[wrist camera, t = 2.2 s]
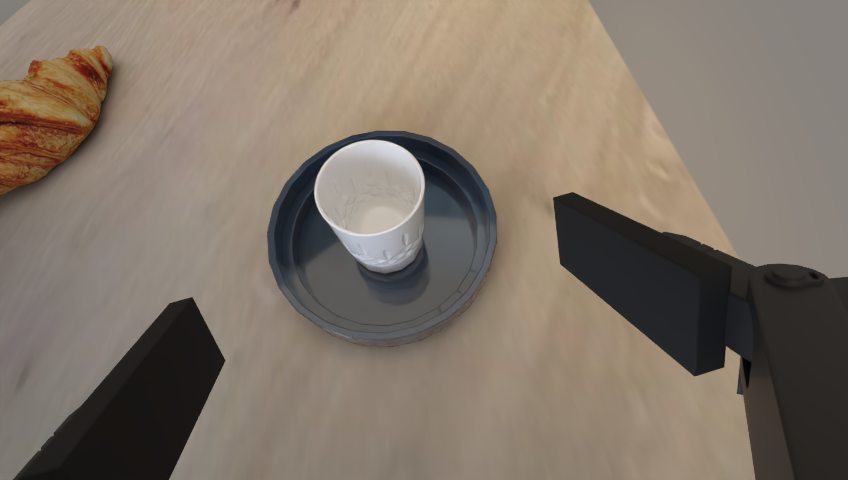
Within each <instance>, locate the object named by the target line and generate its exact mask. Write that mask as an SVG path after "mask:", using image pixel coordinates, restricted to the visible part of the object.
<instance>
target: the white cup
mask: <svg viewBox="0 0 848 480" xmlns="http://www.w3.org/2000/svg"><path fill="white" fill-rule="evenodd" d="M314 195H315V201H316V205H317V208H318V210H319V212H320V213H321V215H322V216H323V218H324V219H325V220H326V222H327V223H328V224H329V226H330V227H331V229H332V230H333V231H334V233H335V234H336V236H337V237H338V238H339V240H340V241H341V242H342V243H343V245H344V246H345V247H346V248H347V250H348V251H349V252H350V253H351V254H352V255H353V256H354V257H355V259H356V260H357V261H358V262H359V263H360V264H362V265H363V266H364V267H366V268H367V269H368V270H370V271H375V272H380V273H390V272H394V271H399V270H402V269H403V268H405V267H406V266H407V265H408V264H410V263H411V262H412V261H414V260H415V258H416V256H417V254H418V252H419V250H420V248H421V246H422V233H423V228H424V213H425V210H424V199H425V180H424V174H423V171H422V168H421V166H420V164H419V163H418V161H417V160H416V158H415V157H414V156H413V155H412V154H411V153H410V152H409V151H407V150H406V149H404V148H403V147H401V146H399V145H397V144H394V143H391V142H388V141H382V140H365V141H359V142H356V143H352V144H350V145H347V146H345V147H343V148H341V149H340V150H338V151H337V152H335V153H334V154H333V155H332V156H331V157H330V158H329V159H328V160H327V161H326V162H325V163H324V165H323V166H322V168H321V169H320V171H319V173H318V175H317V178H316V182H315V188H314Z"/></svg>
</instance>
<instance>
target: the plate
mask: <svg viewBox="0 0 848 480" xmlns="http://www.w3.org/2000/svg"><path fill="white" fill-rule="evenodd" d="M365 140H382V141H388V142H391V143H394V144H397V145H399V146H401V147H403V148H404V149H406V150H407V151H409V152H410V153H411V154H412V155H413V156H414V157H415V158H416V160H417V161H418V163H419V164H420V166H421V168H422V171H423V174H424V180H425V199H424V210H425V213H424V228H423V233H422V246H421V248H420V250H419V252H418V254H417V256H416V258H415V260H414V261H412V262H411V263H410V264H408V265H407V266H406V267H405V268H403V269H402V270H399V271H394V272H390V273H380V272H375V271H370V270H368V269H367V268H366V267H364V266H363V265H362V264H360V263H359V262H358V261H357V260H356V259H355V257H354V256H353V255H352V254H351V253H350V252H349V251H348V250H347V248H346V247H345V246H344V245H343V243H342V242H341V241H340V240H339V238H338V237H337V236H336V234H335V233H334V231H333V230H332V229H331V227H330V226H329V224H328V223H327V222H326V220H325V219H324V218H323V216H322V215H321V213H320V212H319V210H318V208H317V205H316V201H315V195H314V188H315V182H316V178H317V175H318V173H319V171H320V169H321V168H322V166H323V165H324V163H325V162H326V161H327V160H328V159H329V158H330V157H331V156H332V155H333V154H334V153H335V152H337V151H338V150H340V149H341V148H343V147H345V146H347V145H350V144H352V143H356V142H359V141H365ZM267 238H268V255H269V263H270V266H271V268H272V271H273V274H274V276H275V279H276V282H277V284H278V287H279V289H280V290H281V291H282V293H283V294H284V295H285V296H286V298H287V299H288V300H289V302H290V303H291V304H292V306H293V307H294V308H295V309H296V310H297V312H299V313H300V314H302V315H303V316H305V317H306V318H307V319H309V320H310V321H312V322H313V323H315V324H316V325H317V326H319V327H320V328H322V329H323V330H325V331H326V332H328V333H329V334H330V335H332V336H334V337H337V338H340V339H343V340H346V341H349V342H352V343H354V344H357V345H362V346H378V347H394V346H399V345H403V344H408V343H412V342H417V341H420V340H423V339H425V338H427V337H429V336H431V335H433V334H435V333H437V332H439V331H441V330H442V329H444V328H446V327H448V326H449V325H450V324H451V323H452V322H453V321H455V320H456V319H457V318H458V317H459V316H460V315H461V314H462V313H463V312H464V311H465V310H466V309H468V308H469V306H470V305H471V304H472V302H473V300H474V299H475V297H476V295H477V294H478V292H479V291H480V289H481V287H482V286H483V284H484V282H485V279H486V277H487V274H488V271H489V268H490V264H491V261H492V257H493V253H494V250H495V246H496V243H497V230H496V212H495V209H494V206H493V202H492V199H491V196H490V193H489V190H488V188H487V186H486V185H485V183H484V182H483V180H482V179H481V177H480V176H479V174H478V173H477V171H476V170H475V168H474V167H473V166H472V165H471V164H470V163H469V162H468V161H466V160H465V159H464V158H463V157H462V156H461V155H460V154H458V153H457V152H456V151H455V150H454V149H452V148H450V147H448V146H446V145H444V144H442V143H440V142H438V141H436V140H434V139H432V138H430V137H426V136H422V135H418V134H414V133H410V132H406V131H374V132H368V133H363V134H358V135H353V136H350V137H348V138H345V139H343V140H341V141H338V142H336V143H333V144H331V145H329V146H327V147H325V148H324V149H322V150H321V151H319V152H318V153H317V154H315V155H314V156H312V157H311V158H309V159H308V160H307V161H305V162H304V163H303V164H302V165H301V166H300V168H299V169H298V170H297V171H296V172H295V173H294V174H293V175H292V176H291V178H290V179H289V180H288V181H287V182H286V184H285V185H284V187H283V189H282V191H281V193H280V195H279V197H278V199H277V201H276V202H275V204H274V207H273V210H272V214H271V219H270V223H269V227H268V232H267Z"/></svg>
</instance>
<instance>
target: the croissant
mask: <svg viewBox="0 0 848 480" xmlns="http://www.w3.org/2000/svg"><path fill="white" fill-rule="evenodd" d="M112 66H113V61H112V57H111V54H110V53H109V51H108V50H107V48H105V47H103V46H96V47H95V49H79V50H75V49H73V50H70V52H69V54H68V55H67V56H66V57H65V58H56V59H54V60H51V61H46V60H42V61H36V60H34V61H32V63H31V64H30V67H29V71H28V75H27V76H26V78H24V80H23V81H22V80H16V81H8V80H4V81H1V82H0V196H1V195H3V194H4V193H6V192H9V191H10V190H13V189H15V188H16V187H19V186H22V185H26V184H30V183H32V182H34V181H37V180H39V179H40V178H42V177H43V176H46V175H47V173H48V172H49V171H50V170H51V169H52V168H53V167H54V166H56V165H57V164H59V163H61V162H63V161H64V160H66V159H67V158H68V157H69V156H70V155H72V153H73V152H74V151H75V150H76V149H77V148H78V146H79V144H80V143H81V142H82V141H83V140H84V139H85V138H86V137H87V136H88V135H89V133H90V132H91V131H92V129H93V128H94V126H95V124H96V122H97V120H98V118H99V114H100V106H101V104H100V102H101V101H103V100H104V98H105V94H106V91H107V90H106V85H107V78H108V77H109V76H110V75H111V71H112Z"/></svg>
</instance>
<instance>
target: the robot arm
mask: <svg viewBox="0 0 848 480" xmlns="http://www.w3.org/2000/svg"><path fill="white" fill-rule="evenodd" d="M553 201H554V210H555V220H556V229H557V238H558V248H559V257H560V264H561V265H562V266H563V267H564V268H566V269H567V270H568V271H569V272H570V273H572V274H573V275H574V276H575V277H576V278H578V279H579V280H580V281H581V282H582V283H584V284H585V285H586V286H587V287H588V288H590V289H591V290H592V291H593V292H594V293H596V294H597V295H598V296H599V297H600V298H602V299H603V300H604V301H605V302H606V303H608V304H609V305H610V306H611V307H612V308H613V309H615V310H616V311H617V312H618V313H619V314H621V315H622V316H623V317H624V318H625V319H627V320H628V321H629V322H630V323H631V324H633V325H634V326H635V327H636V328H637V329H639V330H640V331H641V332H642V333H643V334H645V335H646V336H647V337H648V338H649V339H651V340H652V341H653V342H654V343H655V344H657V345H658V346H659V347H660V348H661V349H663V350H664V351H665V352H666V353H667V354H668V355H670V356H671V357H672V358H673V359H674V360H676V361H677V362H678V363H679V364H680V365H682V366H683V367H684V368H685V369H686V370H688V371H689V372H690V373H691V374H692V375H694V376H698V375H701V374H704V373H707V372H710V371H714V370H717V369H720V368H723V367H724V363H725V350H726V346H727V347H728V348H730V349H731V350H733V351H734V352H736V353H737V354H739V355H740V356H741V358H740V369H739V379H738V389H737V394H741V395H743V396H744V403H745V410H746V417H747V424H748V431H749V438H750V444H751V451H752V458H753V465H754V472H755V479H756V480H848V277H842V278H831V279H829V278H828V277H827V276H825V275H824V274H822V273H820V272H818V271H816V270H813V269H810V268H806V267H802V266H798V265H789V264H767V265H763V266H759V267H755V266H753V265H751V264H748V263H746V262H744V261H741V260H739V259H737V258H735V257H732V256H730V255H728V254H725V253H723V252H721V251H719V250H714V249H713V248H712V247H709V246H707V245H705V244H702V245H701V243H700V242H698V241H696V240H693V239H691V238H689V237H687V236H683V235H678V234H673V233H669V232H663V233H660V232H658V231H656V230H654V229H651V228H649V227H647V226H645V225H643V224H641V223H638V222H636V221H634V220H632V219H630V218H628V217H625V216H623V215H621V214H619V213H617V212H615V211H612V210H610V209H608V208H606V207H604V206H602V205H599V204H597V203H595V202H593V201H591V200H589V199H586V198H584V197H582V196H580V195H578V194H576V193H573V192H572V193H568V194H564V195H561V196H557V197H554V198H553ZM224 362H225V359H224V357H223V355H222V353H221V351H220V349H219V347H218V346H217V344H216V342H215V340H214V338H213V336H212V334H211V332H210V330H209V328H208V326H207V324H206V322H205V321H204V319H203V317H202V315H201V313H200V311H199V309H198V307H197V305H196V303H195V301H194V299H193V298H192V297H191V298H187V299H184V300H180V301H177V302H173V303H170V304H169V305H168V306H167V307H166V308H165V309H164V311H163V312H162V313H161V314H160V315H159V316H158V318H157V319H156V320H155V321H154V322H153V323H152V324H151V326H150V327H149V328H148V329H147V330H146V331H145V333H144V334H143V335H142V336H141V337H140V338H139V340H138V341H137V342H136V343H135V344H134V345H133V346H132V348H131V349H130V350H129V351H128V352H127V353H126V355H125V356H124V357H123V358H122V359H121V360H120V362H119V363H118V364H117V365H116V366H115V367H114V368H113V370H112V371H111V372H110V373H109V374H108V375H107V377H106V378H105V379H104V380H103V381H102V382H101V383H100V385H99V386H98V387H97V388H96V389H95V390H94V392H93V393H92V394H91V395H90V396H89V397H88V399H87V400H86V401H85V402H84V403H83V404H82V405H81V406H80V407H79V408H78V409H77V410H76V411H74V412H73V413H72V414H71V415H69V416H68V417H67V419H66V420H65V421H64V422H63V423H62V424H61V425H60V427H59V428H58V429H57V430H56V431H55V432H54V433H53V434H54V436H52V437H50V438H49V439H48V440H47V441H46V443H45V444H44V445H43V446H42V447H41V451H38V452H37V453H36V454H35V455H34V456H33V457H32V459H31V460H30V461H29V462H28V463H27V464H26V465H25V467H24V468H23V469H22V470H21V471H20V472H19V473H18V475H17V476H16V477H15V478H14V479H13V480H169V478H170V476H171V474H172V472H173V470H174V468H175V466H176V464H177V462H178V459H179V457H180V455H181V453H182V451H183V449H184V447H185V445H186V443H187V440H188V438H189V436H190V434H191V432H192V430H193V428H194V426H195V424H196V421H197V419H198V417H199V415H200V413H201V411H202V409H203V407H204V405H205V403H206V400H207V398H208V396H209V394H210V392H211V390H212V388H213V386H214V384H215V381H216V379H217V377H218V375H219V373H220V371H221V369H222V367H223V365H224Z"/></svg>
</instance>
